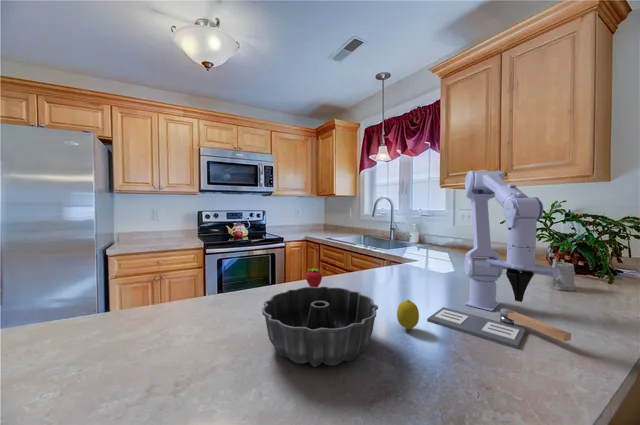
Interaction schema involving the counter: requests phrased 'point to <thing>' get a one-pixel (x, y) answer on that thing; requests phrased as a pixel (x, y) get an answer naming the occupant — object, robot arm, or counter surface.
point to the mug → (563, 276)
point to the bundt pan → (319, 324)
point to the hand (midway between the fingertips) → (518, 300)
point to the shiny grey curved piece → (506, 320)
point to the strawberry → (313, 277)
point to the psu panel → (479, 326)
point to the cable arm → (536, 324)
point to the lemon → (407, 314)
